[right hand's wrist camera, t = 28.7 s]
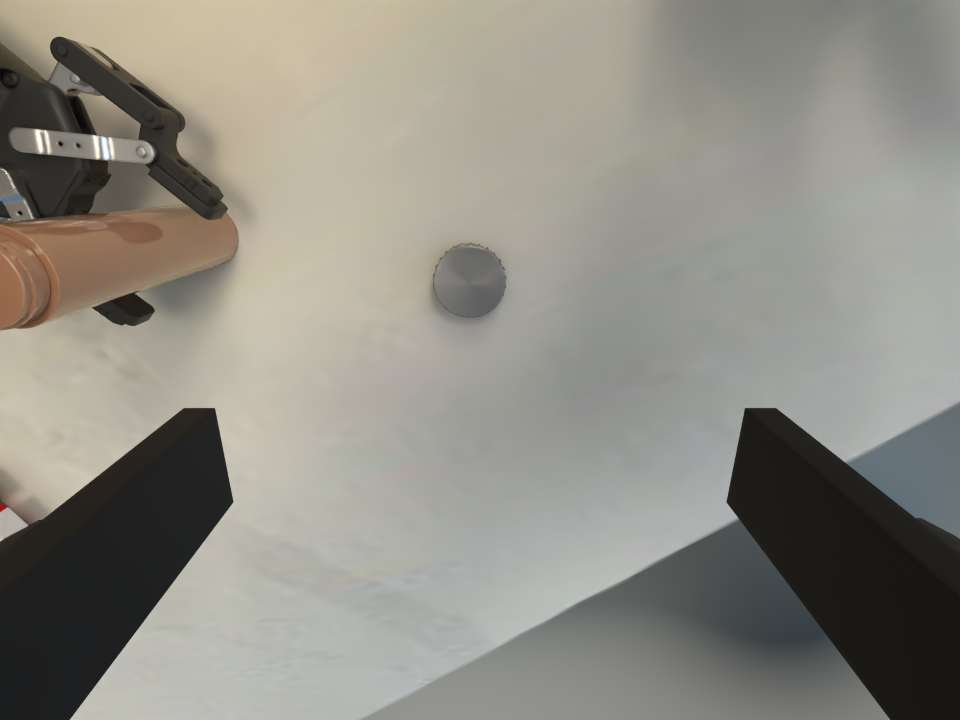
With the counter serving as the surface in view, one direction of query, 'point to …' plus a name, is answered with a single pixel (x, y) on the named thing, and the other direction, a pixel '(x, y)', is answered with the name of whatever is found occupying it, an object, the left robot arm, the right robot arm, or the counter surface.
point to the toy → (9, 522)
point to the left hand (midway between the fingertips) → (180, 268)
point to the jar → (101, 258)
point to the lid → (469, 280)
